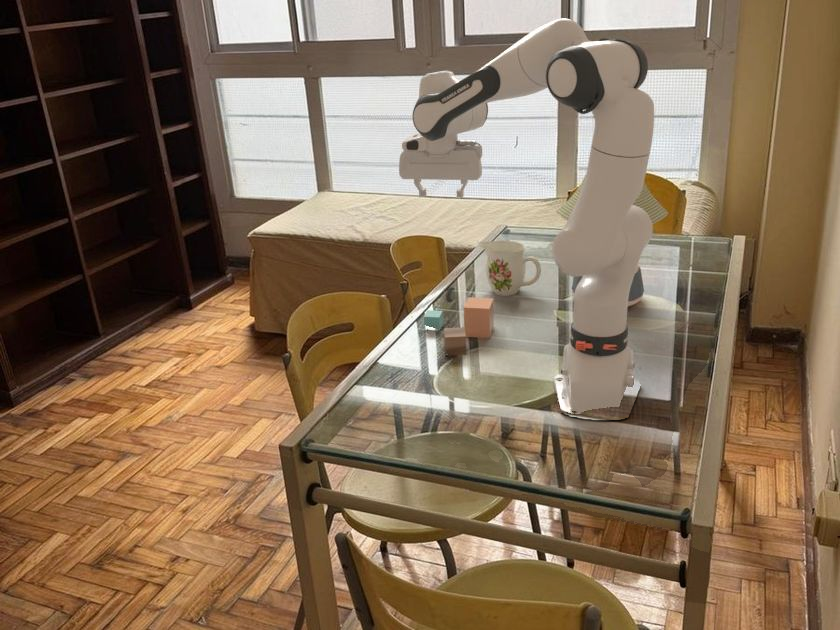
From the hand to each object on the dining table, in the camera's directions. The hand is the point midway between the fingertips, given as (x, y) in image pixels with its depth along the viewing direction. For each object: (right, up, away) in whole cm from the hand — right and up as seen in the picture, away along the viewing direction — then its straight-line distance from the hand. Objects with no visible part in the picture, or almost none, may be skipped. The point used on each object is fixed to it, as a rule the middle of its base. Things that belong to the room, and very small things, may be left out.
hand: (441, 196), depth 198 cm
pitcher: (+20, -23, +28) cm, 41 cm away
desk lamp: (+45, -25, +19) cm, 55 cm away
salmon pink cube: (+10, -34, +5) cm, 35 cm away
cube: (-2, -33, +9) cm, 34 cm away
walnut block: (+3, -38, -4) cm, 38 cm away
